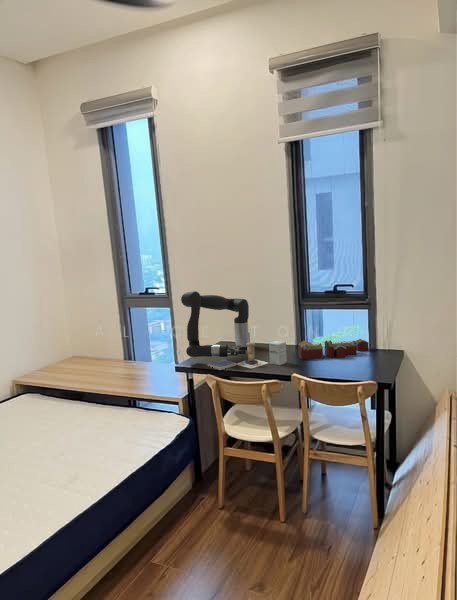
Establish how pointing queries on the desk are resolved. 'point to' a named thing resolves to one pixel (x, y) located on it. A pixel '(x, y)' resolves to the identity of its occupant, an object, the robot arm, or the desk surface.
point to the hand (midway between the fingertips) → (246, 350)
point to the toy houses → (331, 349)
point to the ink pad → (222, 364)
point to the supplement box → (277, 352)
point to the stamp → (251, 354)
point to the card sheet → (252, 365)
